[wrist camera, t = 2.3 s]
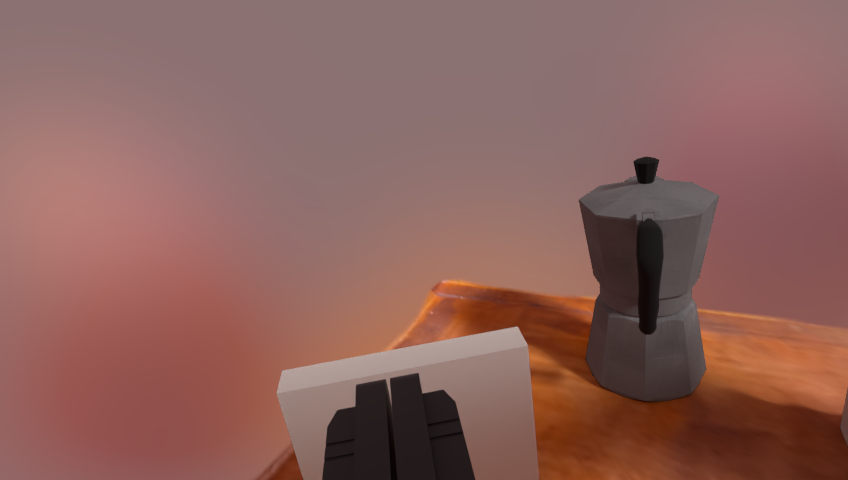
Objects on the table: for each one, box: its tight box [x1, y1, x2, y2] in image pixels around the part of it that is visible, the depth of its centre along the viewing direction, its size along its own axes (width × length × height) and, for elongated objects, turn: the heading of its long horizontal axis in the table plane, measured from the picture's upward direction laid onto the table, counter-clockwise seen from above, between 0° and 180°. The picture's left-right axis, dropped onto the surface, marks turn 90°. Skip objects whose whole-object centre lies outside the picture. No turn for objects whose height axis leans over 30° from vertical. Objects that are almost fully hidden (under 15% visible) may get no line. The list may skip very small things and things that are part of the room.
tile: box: [277, 326, 539, 480], centre depth 28 cm, size 12×2×14 cm, turn 96°
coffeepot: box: [579, 157, 719, 402], centre depth 39 cm, size 15×9×18 cm, turn 160°
